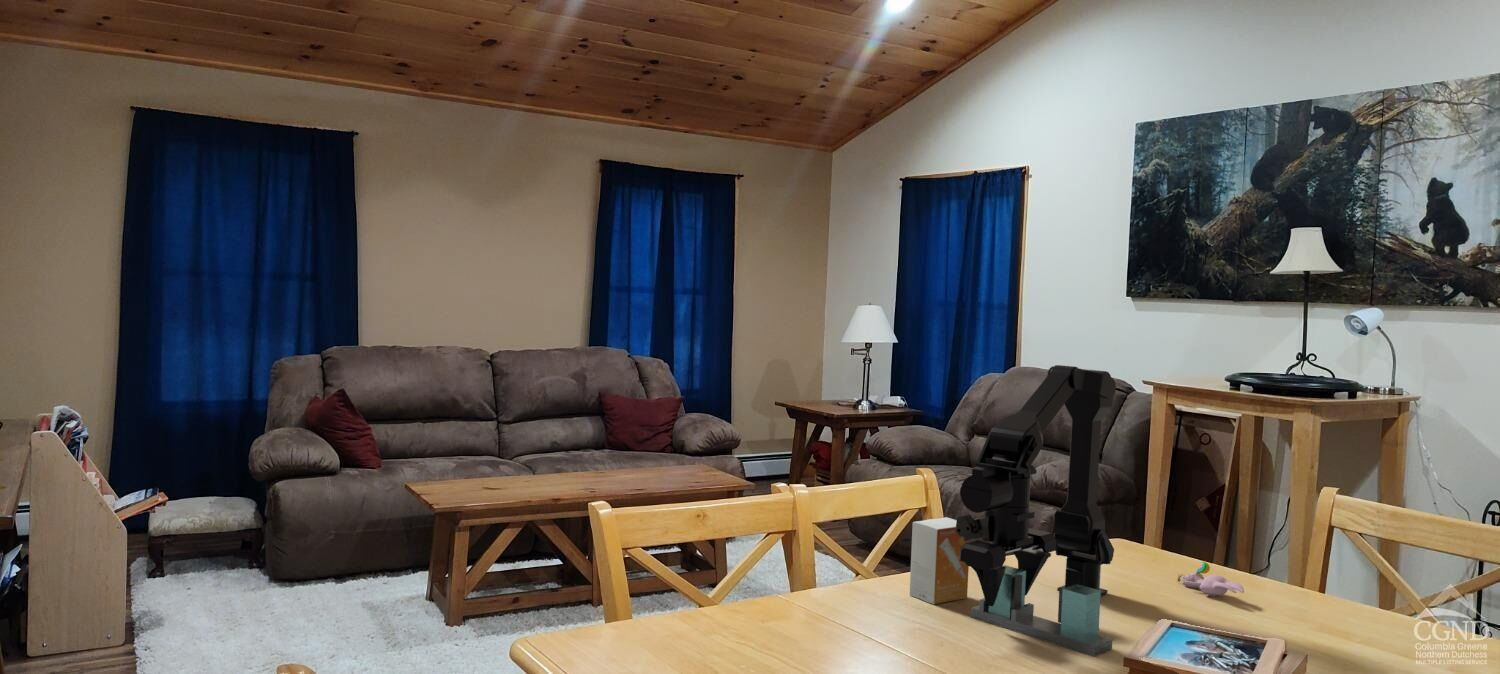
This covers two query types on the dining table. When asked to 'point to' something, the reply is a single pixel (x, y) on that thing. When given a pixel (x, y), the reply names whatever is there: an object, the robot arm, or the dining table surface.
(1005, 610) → the block
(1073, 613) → the rail
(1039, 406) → the robot arm
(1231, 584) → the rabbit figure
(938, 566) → the small box
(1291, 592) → the dining table surface
